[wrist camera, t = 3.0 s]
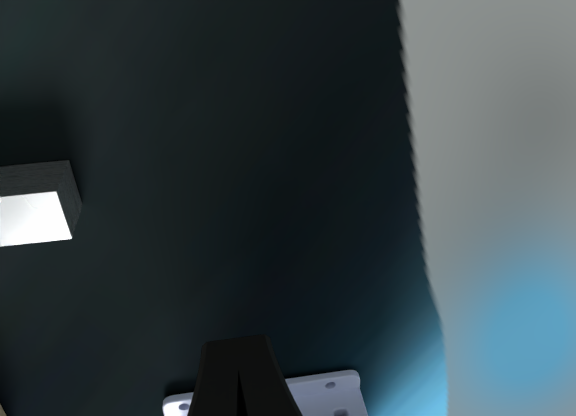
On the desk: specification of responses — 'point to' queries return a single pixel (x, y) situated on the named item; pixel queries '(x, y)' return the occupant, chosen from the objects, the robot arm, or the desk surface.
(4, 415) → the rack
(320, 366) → the desk surface
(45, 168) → the bar
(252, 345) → the robot arm
